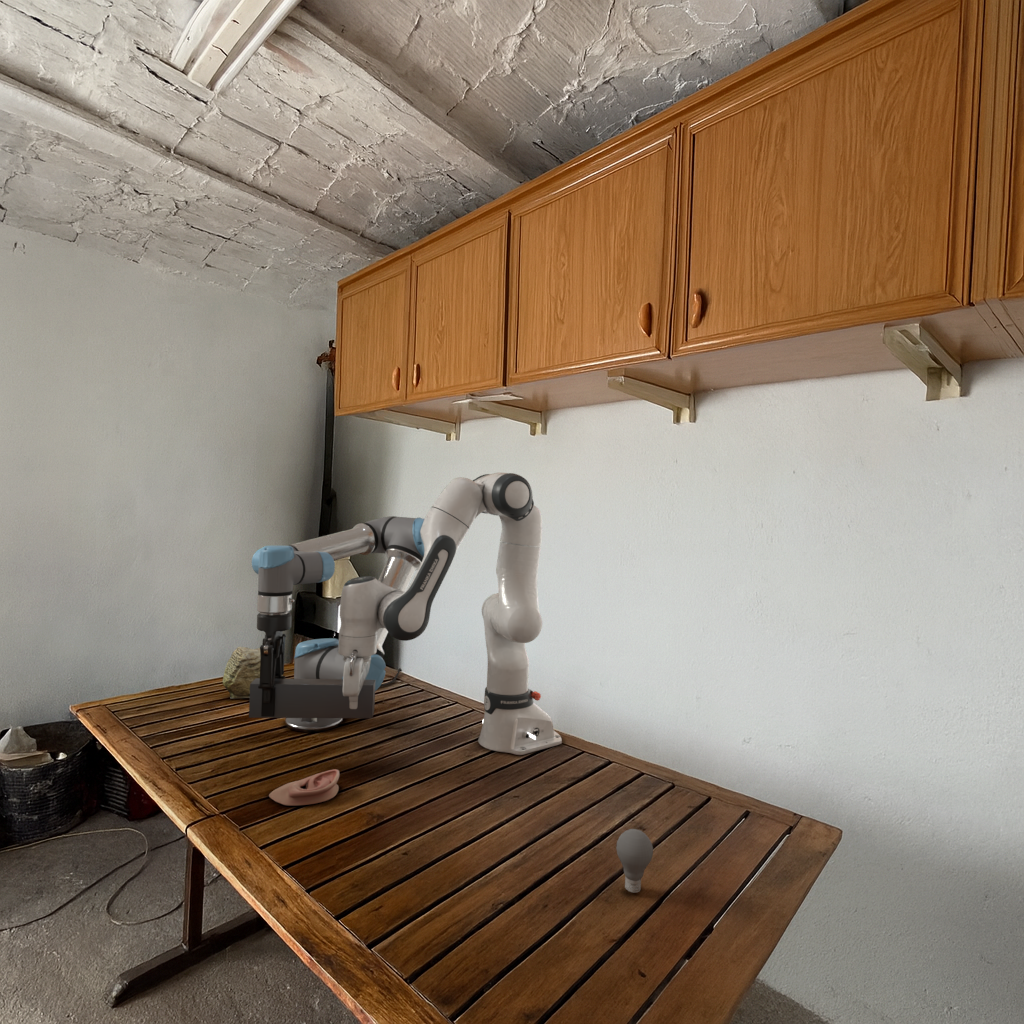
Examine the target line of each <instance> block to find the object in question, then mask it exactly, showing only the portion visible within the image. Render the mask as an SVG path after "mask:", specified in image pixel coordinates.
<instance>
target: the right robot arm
mask: <svg viewBox="0 0 1024 1024" xmlns="http://www.w3.org/2000/svg"><path fill="white" fill-rule="evenodd" d="M533 496H534V495H533V490H532V486H531V484H530V483H529V481H528V480H527V479H526V478H525V477H523V476H522V475H520V474H517V473H514V472H513V473H512V472H494V473H486V474H482V475H479V476H478V477H476V478H475V479H473V480H472V479H470V478H467V477H460V476H459V477H455V478H453V479H452V480H451V481H450V482H449V483H448V484H447V485H446V486H445V487H444V488H443V490H442V491H441V492H440V493H439V495H438V496H437V498H435V500H434V501H433V503H432V505H431V507H430V508H429V510H428V512H427V513H426V515H425V517H424V518H423V519H424V522H423V524H422V527H421V530H420V533H421V538H422V541H423V544H424V558H423V561H422V563H421V565H420V567H419V569H418V570H416V573H414V574H415V575H413V577H412V579H411V581H410V583H409V586H408V588H407V590H406V591H405V592H403V591H401V590H398V589H395V588H392V587H390V586H387V585H385V584H383V583H382V582H380V581H378V579H377V577H375V576H371V575H367V576H357V577H353V578H350V579H349V580H347V581H346V582H345V583H344V584H343V587H342V590H341V595H340V601H339V619H340V626H339V627H340V628H339V629H338V630H339V631H338V640H339V646H338V653H339V654H340V655H342V656H344V658H343V660H344V661H345V665H344V673H343V689H342V692H343V696H348V697H349V701H350V706H349V707H350V709H357V707H358V695H359V693H360V691H361V689H362V686H363V683H364V681H365V679H366V677H367V674H368V672H369V668H370V661H371V655H374V654H376V652H377V631H378V629H380V628H385V629H386V630H387V631H388V634H389V636H391V637H392V638H394V639H396V640H399V641H404V642H405V641H412V640H415V639H417V638H419V637H420V636H421V635H422V634H423V633H424V632H425V630H426V629H427V627H428V626H429V625H428V624H429V621H430V618H431V617H430V616H431V610H432V609H431V608H432V605H433V602H434V600H435V598H436V595H437V594H438V592H439V589H440V588H441V586H442V583H443V581H444V580H445V577H446V575H447V573H448V571H449V569H450V567H451V564H452V563H453V561H454V558H455V556H456V554H457V552H458V550H459V548H460V546H461V544H463V543H462V542H463V541H464V539H465V537H466V536H467V534H468V532H469V531H470V529H471V527H472V526H473V524H474V521H475V520H476V519H477V517H478V516H479V515H480V514H486V515H487V514H488V515H492V516H497V517H499V519H500V522H501V532H500V539H499V546H498V552H497V560H496V567H495V573H496V577H497V586H498V587H497V588H498V592H496V593H492V594H490V595H488V596H487V598H486V599H485V600H484V601H483V602H482V605H481V616H482V619H483V626H484V627H483V628H484V638H485V639H484V640H485V647H486V655H487V668H486V687H485V688H484V698H483V709H484V715H483V719H482V725H481V730H480V733H479V736H478V739H477V743H478V744H479V745H480V746H481V747H482V748H485V749H487V750H489V751H494V752H500V753H509V754H513V755H517V756H523V755H527V754H530V753H534V752H538V751H541V750H545V749H548V748H552V747H555V746H559V745H561V744H563V739H562V736H561V735H560V734H559V733H558V732H556V730H555V729H554V723H553V719H552V717H551V716H550V715H549V714H548V713H547V712H546V711H545V710H543V709H542V708H541V707H540V706H539V705H537V703H535V702H534V700H535V701H540V699H541V698H542V695H541V693H540V692H538V691H535V690H532V689H530V688H529V675H530V659H529V656H528V653H527V647H526V644H527V643H530V642H533V641H535V640H536V639H537V638H538V636H539V635H540V634H541V632H542V629H543V618H542V615H541V612H540V607H539V605H540V604H539V589H538V588H539V587H538V576H539V575H538V574H539V565H540V557H541V549H542V541H543V516H542V515H543V514H542V512H541V510H540V509H539V508H538V507H537V506H536V505H535V502H534V499H533V498H534V497H533Z"/></svg>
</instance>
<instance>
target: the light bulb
mask: <svg viewBox="0 0 1024 1024" xmlns="http://www.w3.org/2000/svg"><path fill="white" fill-rule="evenodd" d="M615 849H616V854H617V857H618V859H619V861H620V863H621V865H622V867H623V873H624V874H623V875H624V876H625V878H624V888H625V890H627V891H628V892H630V893H634V894H635V893H639V892H640V891H641V889H642V887H641V886H642V879H643V877H644V875H645V871H646V868H647V867H648V866H649V864H650V863H651V861H652V859H653V855H654V847H653V843H652V841H651V838H649V836H648V835H647V834H646V833H645V832H643V831H642V830H641V829H636V828H629V829H627V830H625V831H623V832H622V833H621V834H620V835H619V837H618V839H617V841H616V847H615Z"/></svg>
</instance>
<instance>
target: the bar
mask: <svg viewBox="0 0 1024 1024" xmlns="http://www.w3.org/2000/svg"><path fill="white" fill-rule="evenodd" d="M375 681H376V680H365V681H364V683H363V686H362V689H361V691H360V693H359V695H358V707H357V709H350V707H349V706H350V701H349V697H348V696H343V692H342V689H343V679H294V678H285V679H279V678H275V680H274V687H275V711H274V717H263V716H261V709H262V689H258V686H259V685H260V678H256V679H255V680H254V681H253V682H252V683H251V684H250V698H249V700H248V701H249V704H248V718H249V719H255V718H256V719H286V718H343V719H373V717H374V714H375V703H376V691H375Z"/></svg>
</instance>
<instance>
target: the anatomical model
mask: <svg viewBox="0 0 1024 1024" xmlns="http://www.w3.org/2000/svg"><path fill="white" fill-rule="evenodd" d="M339 780H340V770H339V769H336V768H335V769H334V768H333V769H330V770H325V771H321V772H319V773H316V774H313V775H310V776H307V777H305V778H302V779H299V780H295V781H292V782H288V783H286V784H283V785H281V786H279V787H277V788H275V789H273V791H270V793H269V794H268V797H269V798H270V799H271V800H273V802H275V803H278V804H280V805H283V806H288V807H289V806H290V807H291V806H293V807H295V806H296V807H297V806H306V805H314V804H318V803H322V802H326V801H329V800H331V799H333V798H334V797H335V796H336V795H337V794H338V793H339V789H340V787H339V784H337V783H338V782H339Z"/></svg>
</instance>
